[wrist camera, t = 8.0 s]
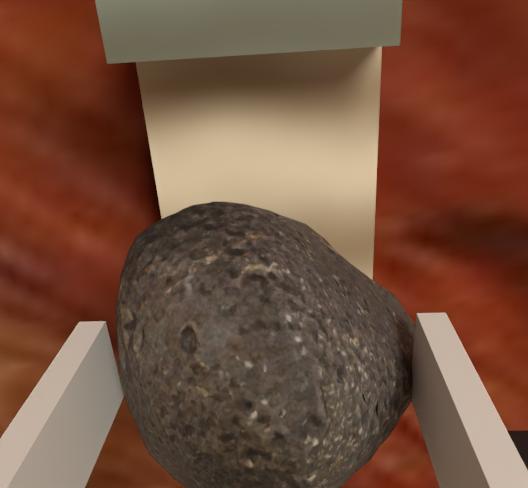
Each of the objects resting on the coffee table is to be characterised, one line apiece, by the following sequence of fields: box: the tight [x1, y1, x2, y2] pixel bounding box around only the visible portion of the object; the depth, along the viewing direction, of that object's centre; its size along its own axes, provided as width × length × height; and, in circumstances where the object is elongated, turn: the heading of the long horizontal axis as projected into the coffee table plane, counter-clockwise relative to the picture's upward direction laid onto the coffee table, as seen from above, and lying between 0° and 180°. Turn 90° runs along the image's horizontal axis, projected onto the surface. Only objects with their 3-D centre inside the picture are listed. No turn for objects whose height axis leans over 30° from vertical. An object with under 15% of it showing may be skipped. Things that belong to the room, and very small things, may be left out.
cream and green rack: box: [95, 0, 402, 279], centre depth 21 cm, size 26×9×6 cm, turn 4°
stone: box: [116, 201, 415, 488], centre depth 15 cm, size 10×8×10 cm
